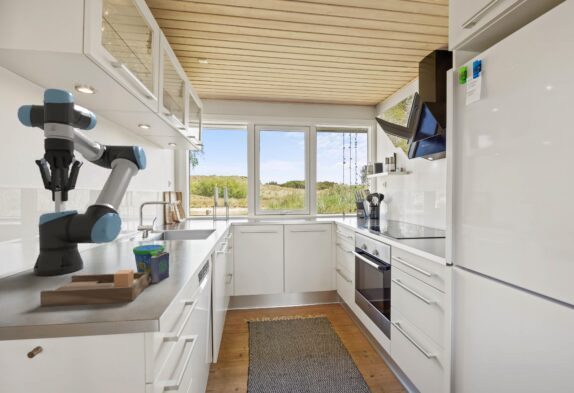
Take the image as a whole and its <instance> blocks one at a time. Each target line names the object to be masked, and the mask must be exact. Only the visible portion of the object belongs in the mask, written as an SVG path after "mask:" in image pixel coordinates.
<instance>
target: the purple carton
mask: <svg viewBox="0 0 574 393" xmlns="http://www.w3.org/2000/svg"><path fill="white" fill-rule="evenodd" d="M161 251H162V250H159V249H158V252H157V255H154V256H152V257H151V276H150V285H152V284H154V285H155V284H157V283H158V284H159V283H160V282H161V281H164V280H166V279H168V278H169V277H170V252H168V251H165V250H164V251H163V252H161Z"/></svg>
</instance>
